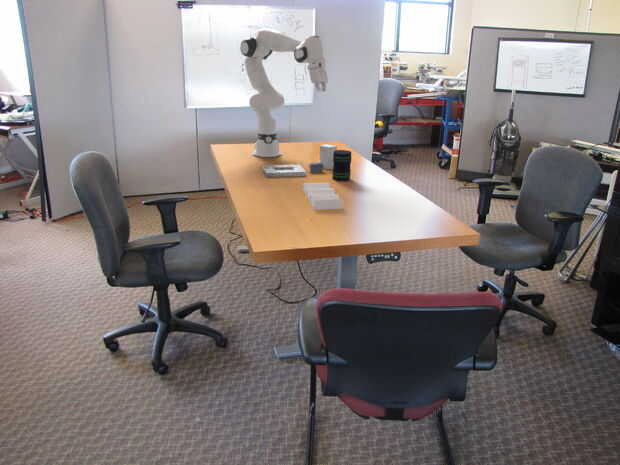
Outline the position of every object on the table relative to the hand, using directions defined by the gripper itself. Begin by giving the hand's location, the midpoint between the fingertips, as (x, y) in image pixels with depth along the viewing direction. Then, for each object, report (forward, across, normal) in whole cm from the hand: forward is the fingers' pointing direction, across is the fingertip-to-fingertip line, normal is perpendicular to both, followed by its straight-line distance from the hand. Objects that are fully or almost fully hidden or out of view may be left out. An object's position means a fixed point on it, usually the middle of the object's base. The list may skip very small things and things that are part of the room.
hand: (321, 91), depth 287 cm
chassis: (+41, +17, -24) cm, 50 cm away
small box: (+43, -6, -6) cm, 44 cm away
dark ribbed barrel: (+49, +17, +9) cm, 52 cm away
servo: (+44, +6, -9) cm, 45 cm away
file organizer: (+53, +54, +9) cm, 76 cm away
